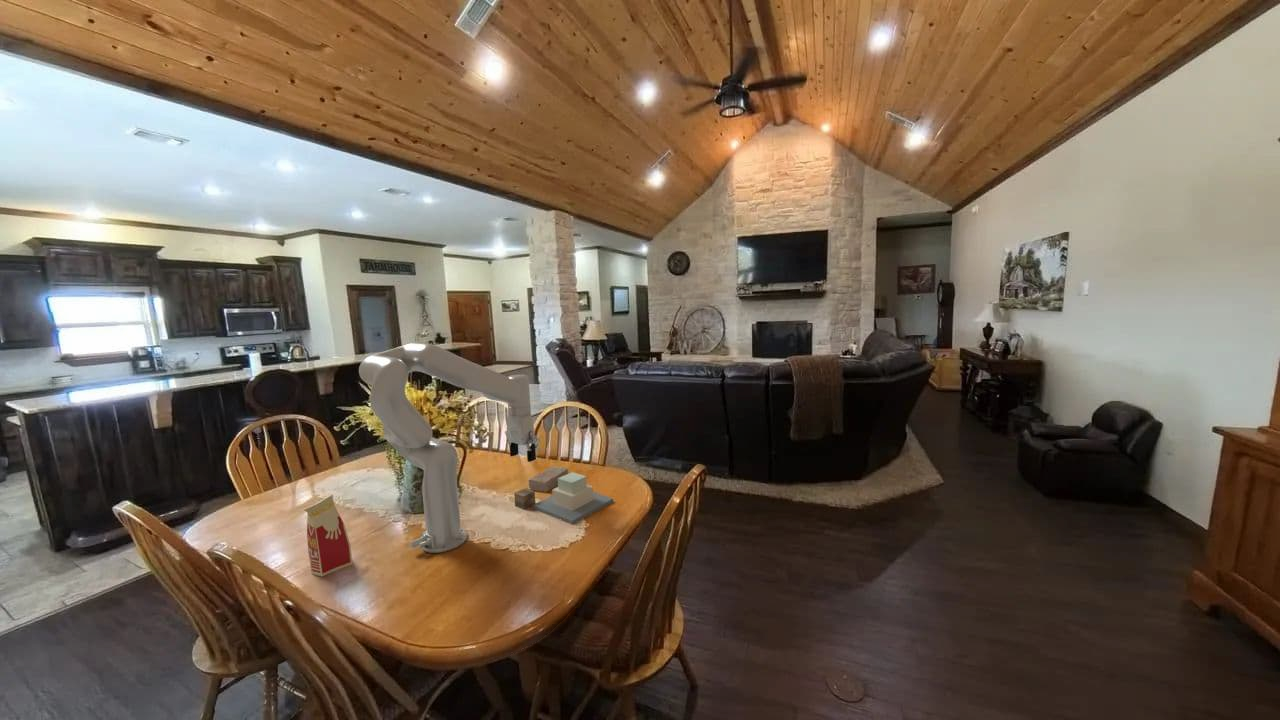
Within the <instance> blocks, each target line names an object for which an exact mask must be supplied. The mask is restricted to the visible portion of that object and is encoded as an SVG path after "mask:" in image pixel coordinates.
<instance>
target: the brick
mask: <svg viewBox="0 0 1280 720" xmlns="http://www.w3.org/2000/svg"><path fill="white" fill-rule="evenodd" d="M567 474H569V470H568V468H567V467H564V466H554V465H553V466H551V467H549V468H546V470H544V471H543V472H540V473H538V474H537V475H534V476H532V477H530V478H528V489H530V490H532V491H536V492H537V491H538V492H544V493H547V492H550V491H552V490H553V489H555V488H556V487H558V478H560V477H562V476H564V475H567Z"/></svg>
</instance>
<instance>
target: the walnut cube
mask: <svg viewBox="0 0 1280 720" xmlns="http://www.w3.org/2000/svg"><path fill="white" fill-rule="evenodd" d="M535 491H536V490H532V489H530V488H526V487H525V488H522V489H519V490H518V491H516V492H513V493H514V496H513V497H514V507H516V508H519V509H522V510H523V511H524V510H525V511H526V510H527V509H528V508H531V507H532V505H533V504H535V503H536V493H535Z"/></svg>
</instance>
